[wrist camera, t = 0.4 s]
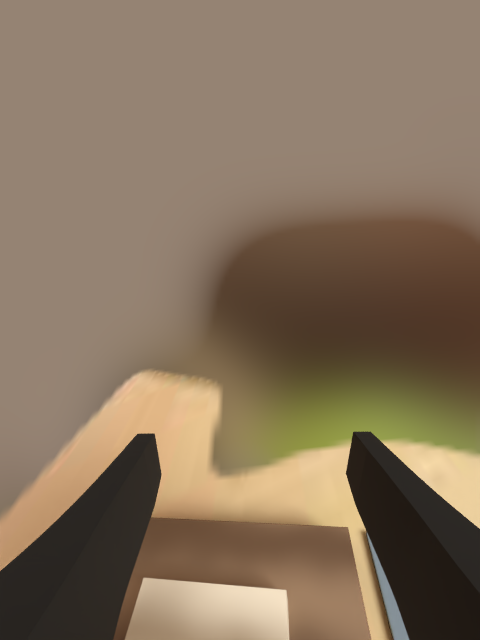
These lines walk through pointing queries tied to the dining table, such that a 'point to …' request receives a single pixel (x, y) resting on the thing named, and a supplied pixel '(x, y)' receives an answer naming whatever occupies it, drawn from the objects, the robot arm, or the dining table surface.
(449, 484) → the dining table surface
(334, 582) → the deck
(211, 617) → the cream rectangular block
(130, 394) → the dining table surface
